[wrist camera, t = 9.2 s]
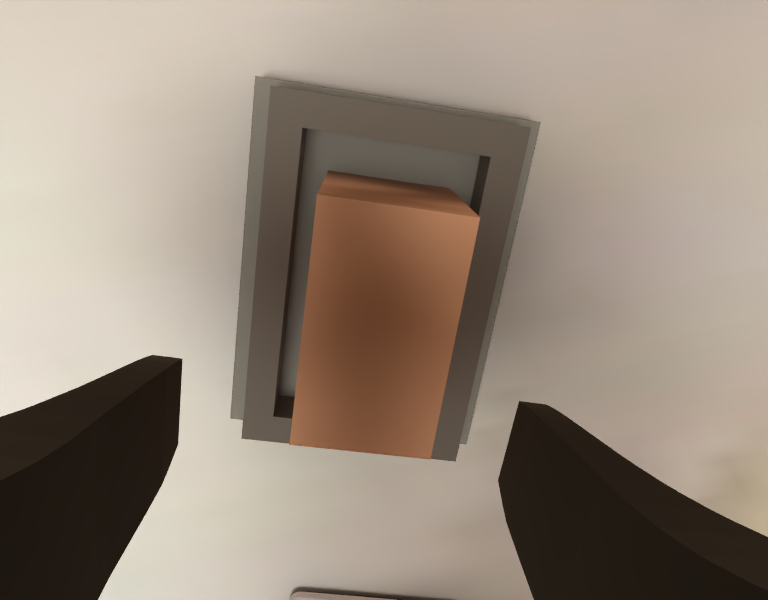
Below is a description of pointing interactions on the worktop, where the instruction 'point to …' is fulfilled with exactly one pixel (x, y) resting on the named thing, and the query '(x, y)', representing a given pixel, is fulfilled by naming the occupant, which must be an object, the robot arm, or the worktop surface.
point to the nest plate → (296, 221)
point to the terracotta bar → (380, 314)
